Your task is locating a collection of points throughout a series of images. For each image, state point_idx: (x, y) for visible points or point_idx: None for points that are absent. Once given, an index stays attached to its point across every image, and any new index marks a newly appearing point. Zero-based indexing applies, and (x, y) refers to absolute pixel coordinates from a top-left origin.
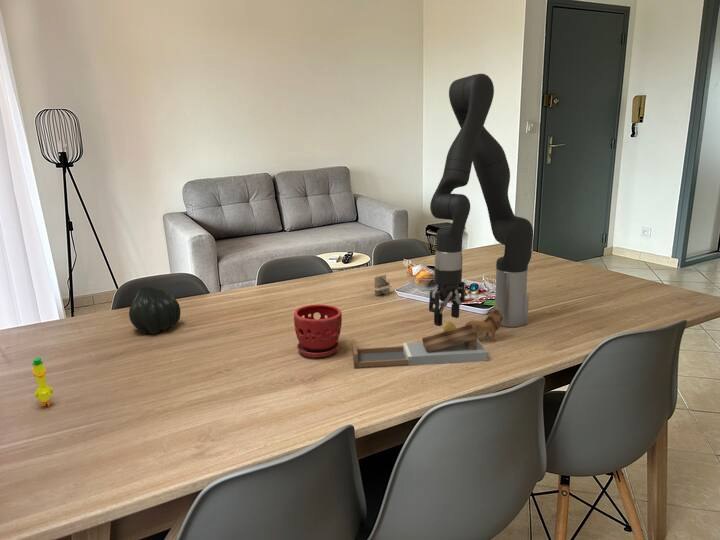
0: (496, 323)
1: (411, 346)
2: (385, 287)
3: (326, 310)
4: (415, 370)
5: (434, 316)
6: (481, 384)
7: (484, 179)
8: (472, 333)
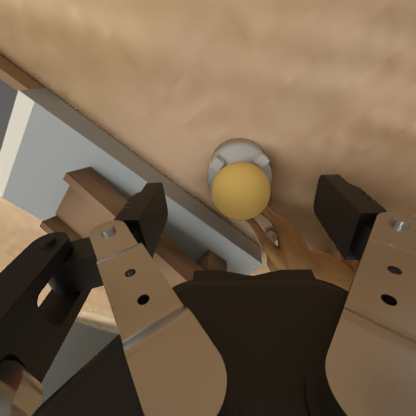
0: None
1: (38, 142)
2: None
3: None
4: (22, 209)
5: (117, 218)
6: (111, 316)
7: None
8: None
